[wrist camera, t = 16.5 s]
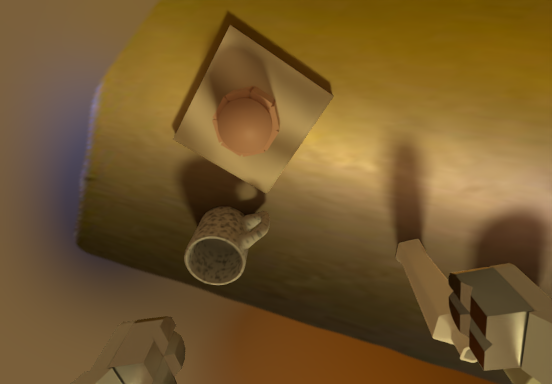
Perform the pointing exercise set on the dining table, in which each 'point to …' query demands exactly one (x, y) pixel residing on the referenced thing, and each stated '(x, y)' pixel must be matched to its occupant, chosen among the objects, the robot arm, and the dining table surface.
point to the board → (269, 78)
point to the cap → (247, 121)
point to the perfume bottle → (432, 295)
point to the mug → (223, 244)
